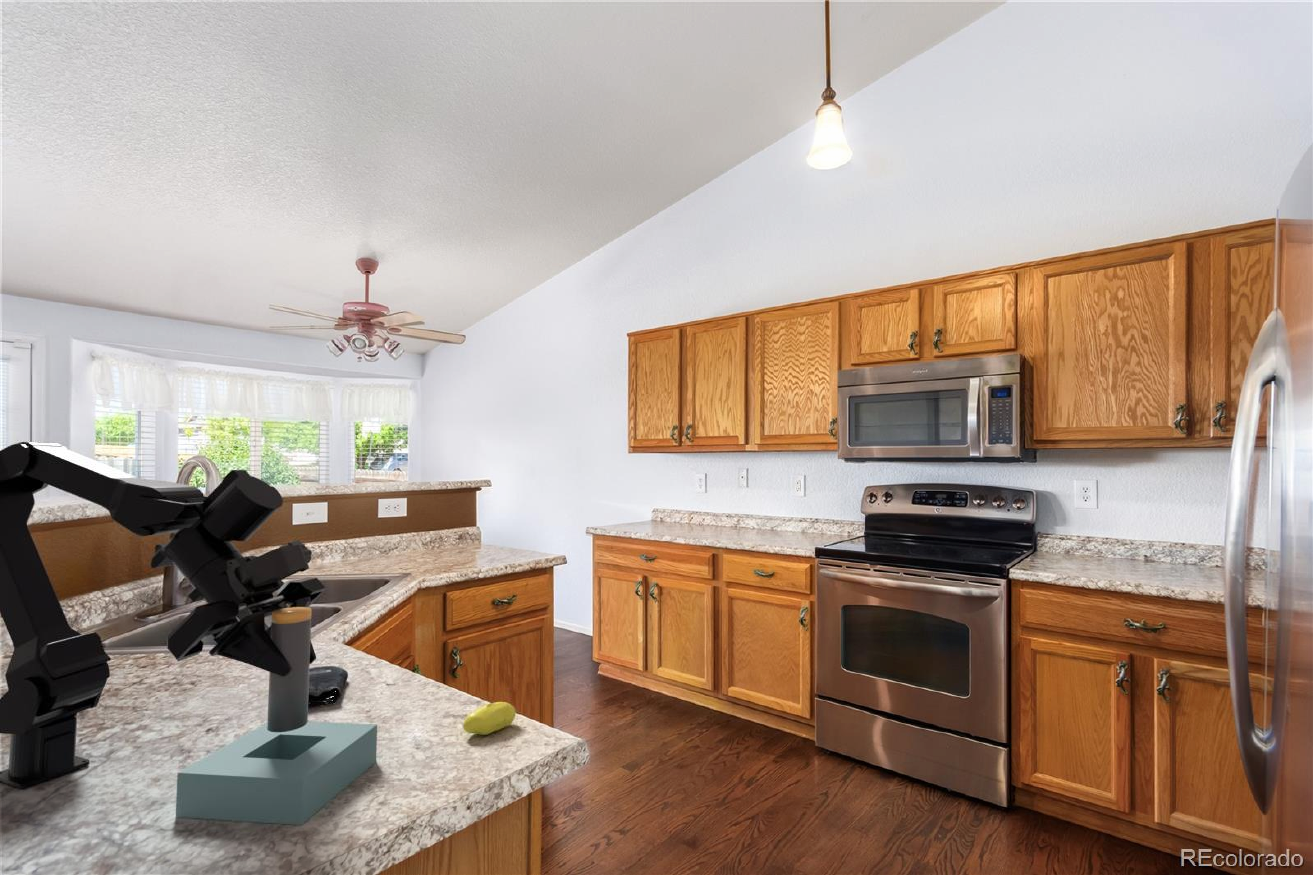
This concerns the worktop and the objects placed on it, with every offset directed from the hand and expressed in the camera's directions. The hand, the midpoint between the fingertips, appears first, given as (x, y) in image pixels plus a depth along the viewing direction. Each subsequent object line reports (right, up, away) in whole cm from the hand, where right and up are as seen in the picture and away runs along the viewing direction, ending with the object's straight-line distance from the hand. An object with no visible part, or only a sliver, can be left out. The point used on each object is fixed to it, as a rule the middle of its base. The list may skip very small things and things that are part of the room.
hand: (300, 667), depth 72 cm
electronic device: (-14, -15, +29) cm, 36 cm away
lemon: (+18, -15, +15) cm, 27 cm away
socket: (-1, -13, -1) cm, 13 cm away
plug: (-1, -7, 0) cm, 7 cm away
